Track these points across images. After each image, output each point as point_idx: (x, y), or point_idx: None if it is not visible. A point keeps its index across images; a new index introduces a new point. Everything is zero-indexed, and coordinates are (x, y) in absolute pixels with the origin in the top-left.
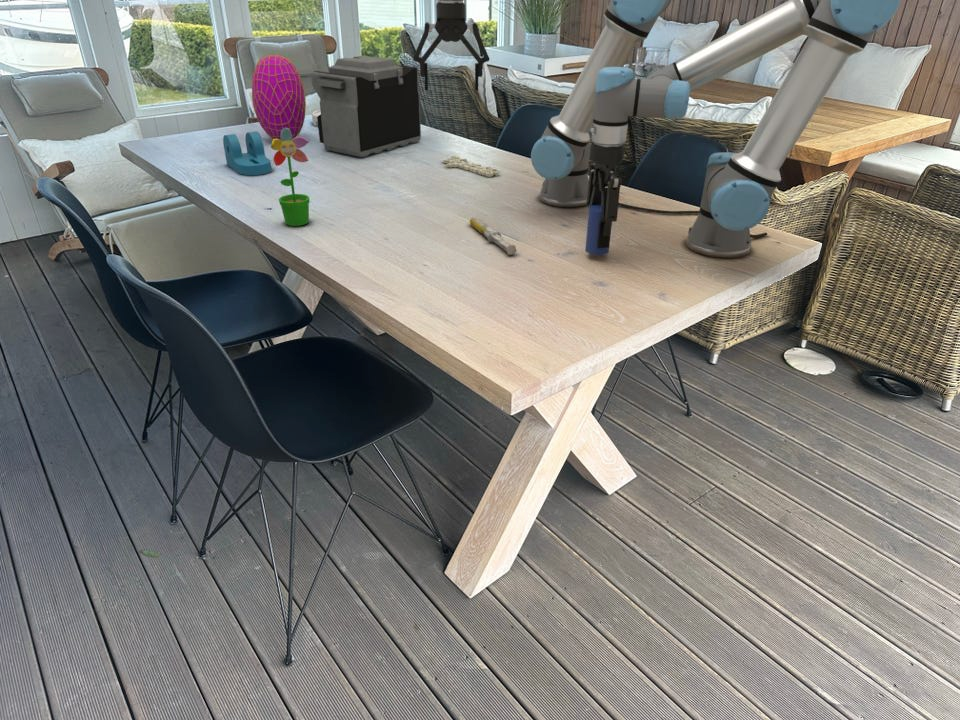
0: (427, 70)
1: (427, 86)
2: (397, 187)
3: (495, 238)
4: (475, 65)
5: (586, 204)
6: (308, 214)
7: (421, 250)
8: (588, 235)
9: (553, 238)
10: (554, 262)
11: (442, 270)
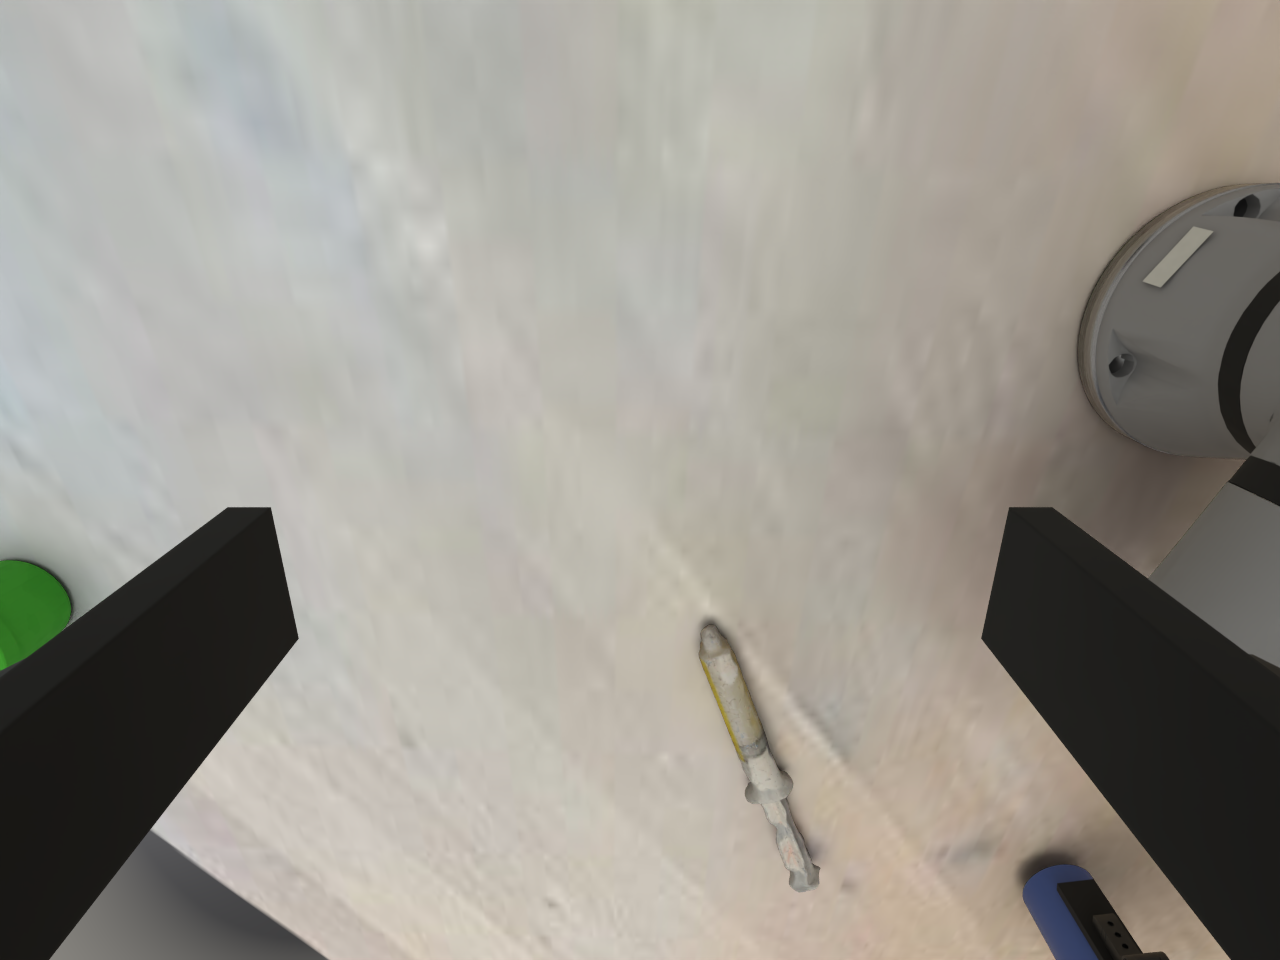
0: (77, 706)
1: (268, 671)
2: (314, 51)
3: (768, 820)
4: (1262, 935)
5: (1123, 958)
6: (49, 619)
7: (533, 820)
8: (1050, 949)
9: (971, 748)
10: (912, 897)
11: (599, 929)
